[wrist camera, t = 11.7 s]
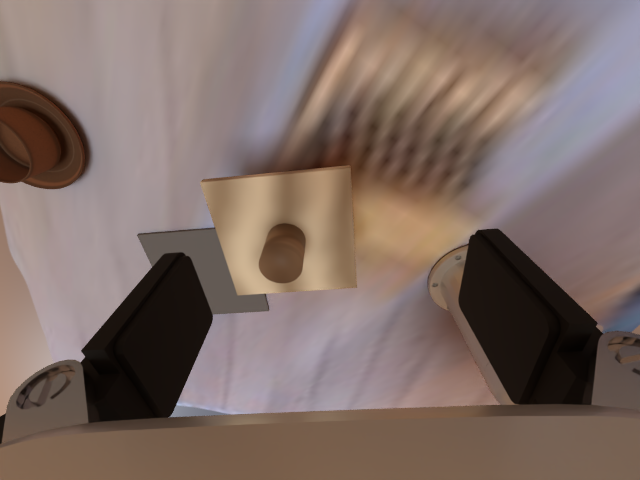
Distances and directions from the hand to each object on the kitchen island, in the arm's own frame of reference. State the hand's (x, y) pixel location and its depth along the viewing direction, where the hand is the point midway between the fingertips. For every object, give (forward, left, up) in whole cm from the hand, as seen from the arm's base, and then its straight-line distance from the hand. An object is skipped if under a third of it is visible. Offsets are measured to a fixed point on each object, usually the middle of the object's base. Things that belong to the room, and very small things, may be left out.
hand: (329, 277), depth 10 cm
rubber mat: (+20, +20, -28) cm, 40 cm away
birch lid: (+5, +9, -19) cm, 21 cm away
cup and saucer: (+34, -2, -29) cm, 45 cm away
